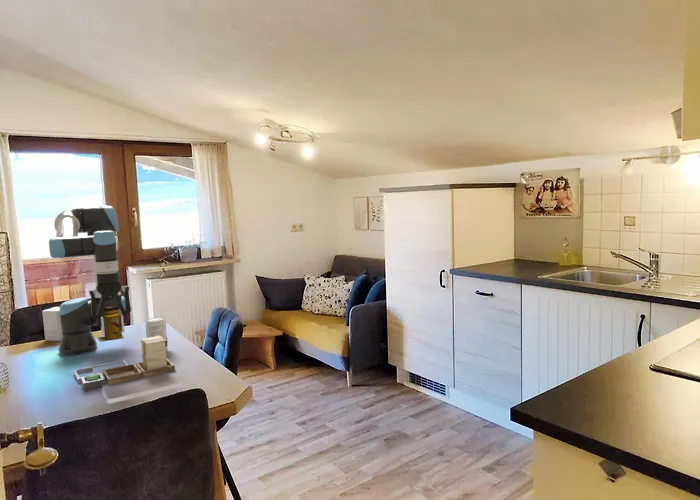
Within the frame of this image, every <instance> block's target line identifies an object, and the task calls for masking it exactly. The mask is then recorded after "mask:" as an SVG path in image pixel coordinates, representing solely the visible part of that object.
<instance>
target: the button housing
mask: <svg viewBox="0 0 700 500" xmlns="http://www.w3.org/2000/svg"><path fill="white" fill-rule="evenodd" d="M97 374H98V375H99V379H96V380H92V381H87V378H86V377H87V376H88V375H84V376H81V377H80V378H81V385H80V386H81V387H82V390H83V391H84V392H89V391H93V390H98V389H103V386H102V385H106V381H105V378H104V376H103V375H102V374H103V372H98V373H97Z"/></svg>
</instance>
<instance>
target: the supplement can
mask: <svg viewBox="0 0 700 500" xmlns="http://www.w3.org/2000/svg"><path fill="white" fill-rule="evenodd" d="M145 334H146V338H149V337H154V336H161V337H162V338H163V339H164V340H165V346H166V353H167V352H168V351H169V348H168V334H167V321H166V320H165V318H164V317H153V318H152V317H151V318H149V319H146V323H145Z"/></svg>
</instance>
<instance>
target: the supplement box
mask: <svg viewBox="0 0 700 500" xmlns="http://www.w3.org/2000/svg"><path fill="white" fill-rule="evenodd" d="M41 312H42V322H43V330H44V339H45V341H54V342H61V338H62V330H61V319H60V315H59V314H60V306H54V307H51V308H47V309H44V310H42V311H41Z"/></svg>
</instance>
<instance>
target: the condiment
mask: <svg viewBox="0 0 700 500" xmlns="http://www.w3.org/2000/svg"><path fill="white" fill-rule="evenodd" d="M103 310H104V312H103V313H104V314H103V319H104V330H105V335H104V336H98V337H97V341H98V342H99V343H103V342H104V343H105V342H108V341H109V342H110V341H115V340H122V339H123V340H124V339H125V337H124V335H123V332H122V328H121V316H120V313H119V307H118V306H107V307H104V308H103Z"/></svg>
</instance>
